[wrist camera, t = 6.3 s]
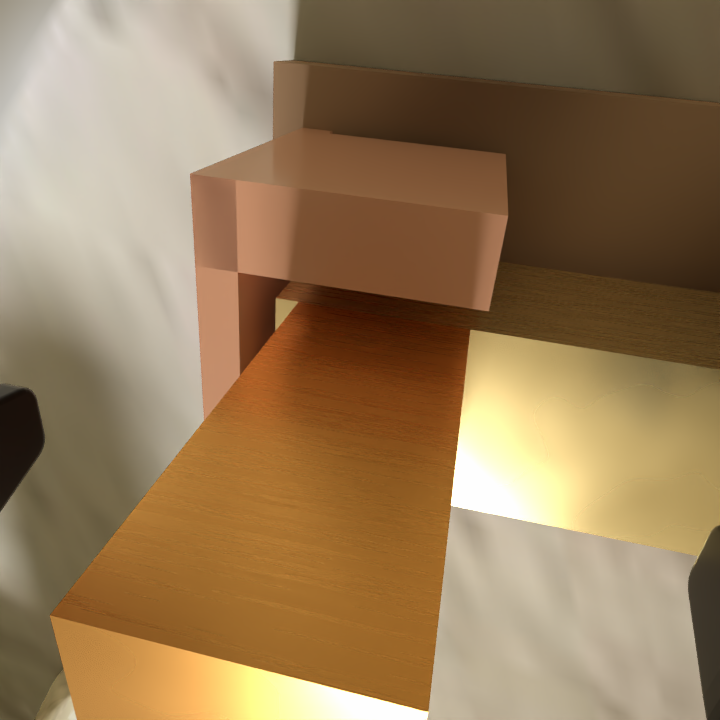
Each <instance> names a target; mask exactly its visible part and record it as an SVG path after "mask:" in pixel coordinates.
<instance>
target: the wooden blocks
mask: <svg viewBox="0 0 720 720" xmlns="http://www.w3.org/2000/svg"><path fill="white" fill-rule="evenodd" d="M451 505H452V506H457V507H461V508H466V509H471V510H476V511H481V512H486V513H491V514H496V515H501V516H505V517H510V518H515V519H520V520H525V521H530V522H535V523H540V524H544V525H549V526H554V527H559V528H564V529H569V530H574V531H579V532H584V533H588V534H593V535H598V536H603V537H608V538H613V539H618V540H623V541H628V542H632V543H637V544H642V545H647V546H652V547H657V548H662V549H667V550H672V551H676V552H681V553H686V554H691V555H696V556H699V554H700V552H701V550H702V548H703V546H704V544H705V542H706V540H707V538H708V536H709V534H710V532H711V531H712V529H713V528H715V527H716V526H718V525H720V293H715V292H708V291H701V290H694V289H687V288H680V287H673V286H666V285H660V284H653V283H646V282H639V281H632V280H625V279H618V278H611V277H604V276H597V275H590V274H583V273H576V272H569V271H562V270H555V269H548V268H541V267H534V266H527V265H520V264H513V263H506V262H499V264H498V269H497V274H496V279H495V284H494V288H493V293H492V298H491V303H490V308H489V311H482V310H476V309H470V308H463V307H457V306H450V305H444V304H437V303H431V302H425V301H418V300H412V299H405V298H399V297H393V296H386V295H380V294H373V293H367V292H361V291H354V290H348V289H341V288H335V287H329V286H322V285H316V284H309V283H303V282H297V281H291V282H290V283H289V284H288V285H287V286H286V287H285V288H284V289H283V291H282V292H281V293H280V294H279V295H278V296H277V297H276V314H275V332H274V333H273V335H272V336H271V337H270V338H269V340H268V341H267V342H266V344H265V345H264V346H263V347H262V349H261V350H260V351H259V352H258V354H257V355H256V356H255V357H254V359H253V360H252V361H251V362H250V364H249V365H248V366H247V367H246V369H245V370H244V371H243V372H242V374H241V375H240V376H239V378H238V379H237V380H236V381H235V383H234V384H233V385H232V386H231V388H230V389H229V390H228V391H227V393H226V394H225V395H224V396H223V398H222V399H221V400H220V401H219V403H218V404H217V405H216V406H215V408H214V409H213V410H212V412H211V413H210V414H209V415H208V417H207V418H206V419H205V420H204V422H203V423H202V424H201V425H200V427H199V428H198V429H197V430H196V432H195V433H194V434H193V435H192V437H191V438H190V439H189V441H188V442H187V443H186V444H185V446H184V447H183V448H182V449H181V451H180V452H179V453H178V454H177V456H176V457H175V458H174V459H173V461H172V462H171V463H170V464H169V466H168V467H167V468H166V469H165V471H164V472H163V473H162V475H161V476H160V477H159V478H158V480H157V481H156V482H155V483H154V485H153V486H152V487H151V488H150V490H149V491H148V492H147V493H146V495H145V496H144V497H143V498H142V500H141V501H140V502H139V504H138V505H137V506H136V507H135V509H134V510H133V511H132V512H131V514H130V515H129V516H128V517H127V519H126V520H125V521H124V522H123V524H122V525H121V526H120V527H119V529H118V530H117V531H116V532H115V534H114V535H113V536H112V538H111V539H110V540H109V541H108V543H107V544H106V545H105V546H104V548H103V549H102V550H101V551H100V553H99V554H98V555H97V556H96V558H95V559H94V560H93V561H92V563H91V564H90V565H89V566H88V568H87V569H86V570H85V572H84V573H83V574H82V575H81V577H80V578H79V579H78V580H77V582H76V583H75V584H74V585H73V587H72V588H71V589H70V590H69V592H68V593H67V594H66V595H65V597H64V598H63V599H62V601H61V602H60V603H59V604H58V606H57V607H56V608H55V609H54V611H53V612H52V613H51V614H50V618H51V622H52V626H53V630H54V634H55V638H56V642H57V645H58V649H59V653H60V657H61V661H62V665H63V668H64V672H65V676H66V680H67V684H68V688H69V692H70V695H71V699H72V703H73V707H74V711H75V715H76V718H77V720H427V716H428V710H429V701H430V692H431V683H432V674H433V664H434V655H435V646H436V637H437V628H438V619H439V610H440V601H441V592H442V583H443V574H444V564H445V555H446V546H447V537H448V528H449V519H450V510H451Z"/></svg>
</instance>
